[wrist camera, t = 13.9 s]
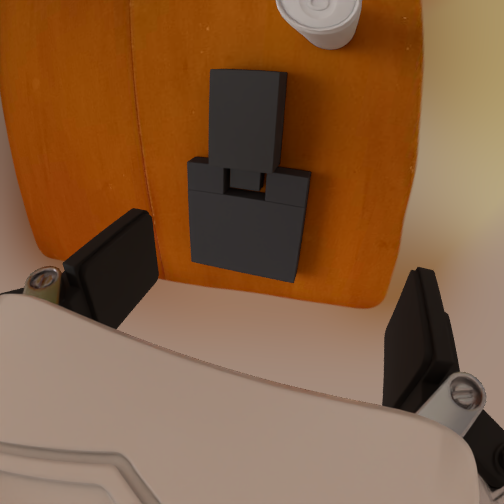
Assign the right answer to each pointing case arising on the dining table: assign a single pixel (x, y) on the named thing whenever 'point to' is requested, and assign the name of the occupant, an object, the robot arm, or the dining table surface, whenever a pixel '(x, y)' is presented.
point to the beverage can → (323, 20)
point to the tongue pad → (246, 123)
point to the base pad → (247, 221)
